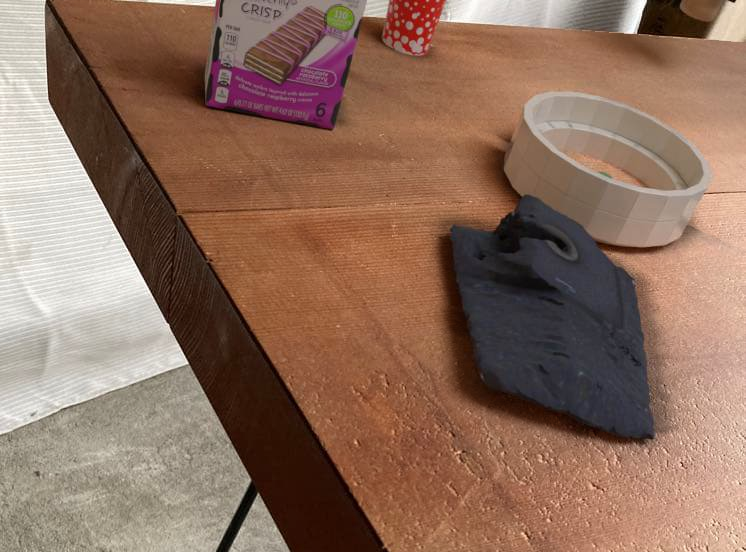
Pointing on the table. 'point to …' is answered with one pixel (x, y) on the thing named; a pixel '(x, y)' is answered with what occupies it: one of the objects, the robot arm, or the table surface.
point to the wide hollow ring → (618, 147)
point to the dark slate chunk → (554, 319)
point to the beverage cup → (411, 25)
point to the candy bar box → (282, 57)
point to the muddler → (701, 8)
